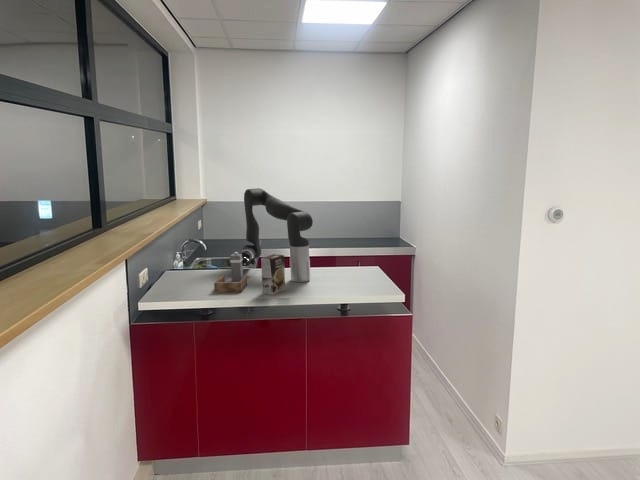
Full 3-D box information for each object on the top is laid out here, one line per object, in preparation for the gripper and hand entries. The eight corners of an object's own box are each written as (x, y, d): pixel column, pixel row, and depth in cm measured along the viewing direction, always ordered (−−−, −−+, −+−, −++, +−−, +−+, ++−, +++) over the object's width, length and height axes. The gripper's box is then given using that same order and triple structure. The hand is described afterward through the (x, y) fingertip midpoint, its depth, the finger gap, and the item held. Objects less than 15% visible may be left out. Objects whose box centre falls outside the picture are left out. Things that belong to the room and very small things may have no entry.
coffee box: (273, 295, 194) (272, 258, 191) (262, 293, 197) (260, 257, 194) (286, 289, 201) (284, 254, 199) (274, 288, 205) (273, 253, 202)
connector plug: (243, 279, 221) (242, 251, 219) (241, 281, 217) (239, 253, 214) (234, 279, 222) (232, 251, 219) (231, 281, 217) (229, 253, 214)
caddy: (247, 284, 211) (247, 275, 211) (241, 292, 199) (240, 282, 198) (222, 284, 212) (222, 275, 211) (214, 292, 199) (214, 283, 198)
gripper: (231, 250, 236) (223, 257, 220) (258, 250, 235) (251, 256, 219) (232, 264, 237) (224, 272, 221) (259, 264, 236) (252, 271, 220)
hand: (238, 264), depth 220 cm, fingers open, 8 cm apart
